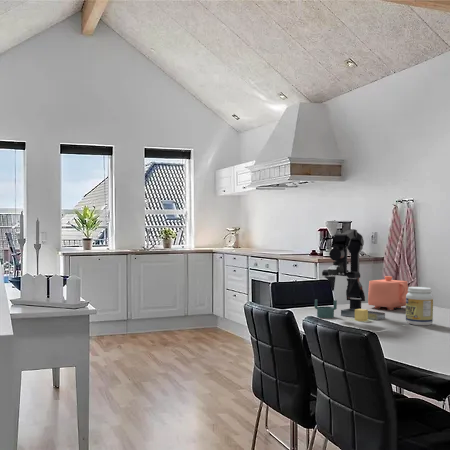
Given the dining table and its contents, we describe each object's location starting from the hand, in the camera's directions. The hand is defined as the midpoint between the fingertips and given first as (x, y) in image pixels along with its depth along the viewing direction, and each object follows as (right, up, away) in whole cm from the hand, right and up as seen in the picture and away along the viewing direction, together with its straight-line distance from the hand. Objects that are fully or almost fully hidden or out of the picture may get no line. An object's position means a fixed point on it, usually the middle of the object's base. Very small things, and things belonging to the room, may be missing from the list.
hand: (340, 291), depth 293 cm
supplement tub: (+35, -14, -10) cm, 39 cm away
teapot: (+37, -14, +46) cm, 61 cm away
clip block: (+9, -13, -6) cm, 17 cm away
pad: (+9, -14, -6) cm, 17 cm away
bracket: (-7, -14, +4) cm, 16 cm away
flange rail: (+13, -14, +4) cm, 19 cm away
